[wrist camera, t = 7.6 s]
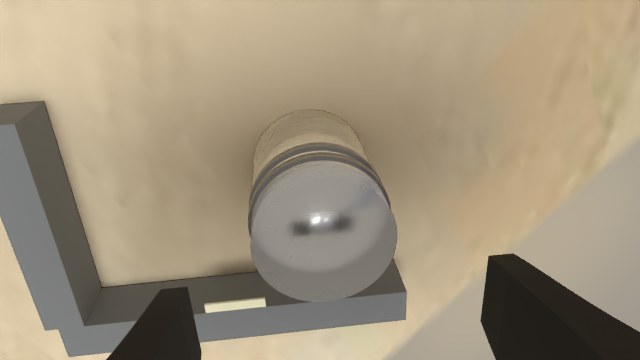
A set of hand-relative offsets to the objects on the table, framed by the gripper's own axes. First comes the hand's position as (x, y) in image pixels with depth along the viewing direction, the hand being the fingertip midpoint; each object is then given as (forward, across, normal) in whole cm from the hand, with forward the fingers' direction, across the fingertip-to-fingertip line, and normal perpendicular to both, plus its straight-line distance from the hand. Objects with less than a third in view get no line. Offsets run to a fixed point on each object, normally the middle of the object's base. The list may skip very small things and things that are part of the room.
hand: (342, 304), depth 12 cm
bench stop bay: (+9, +4, +2) cm, 10 cm away
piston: (+9, 0, 0) cm, 9 cm away
